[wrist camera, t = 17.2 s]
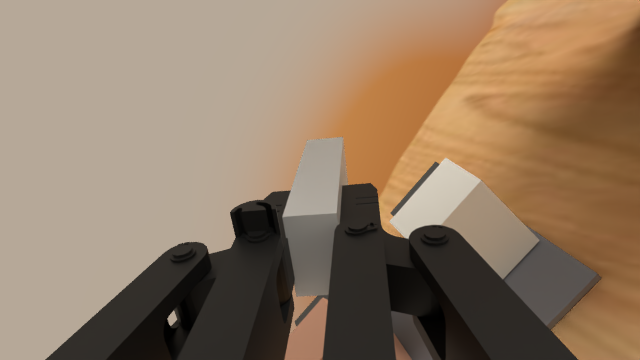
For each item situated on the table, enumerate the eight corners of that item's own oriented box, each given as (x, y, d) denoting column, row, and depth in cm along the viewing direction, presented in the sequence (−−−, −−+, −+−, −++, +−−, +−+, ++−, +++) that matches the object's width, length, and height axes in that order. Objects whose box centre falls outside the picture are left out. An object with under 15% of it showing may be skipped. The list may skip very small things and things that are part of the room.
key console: (329, 341, 56) (291, 324, 52) (468, 187, 53) (438, 158, 49) (399, 483, 40) (352, 474, 37) (601, 278, 37) (572, 245, 34)
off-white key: (453, 269, 47) (389, 221, 40) (503, 215, 46) (445, 157, 39) (484, 299, 43) (417, 250, 36) (539, 240, 42) (481, 180, 35)
